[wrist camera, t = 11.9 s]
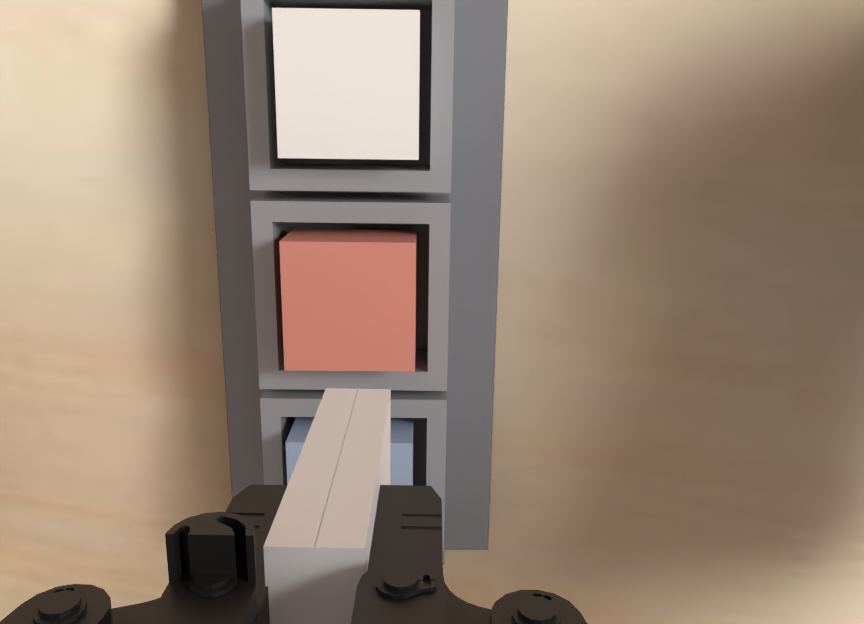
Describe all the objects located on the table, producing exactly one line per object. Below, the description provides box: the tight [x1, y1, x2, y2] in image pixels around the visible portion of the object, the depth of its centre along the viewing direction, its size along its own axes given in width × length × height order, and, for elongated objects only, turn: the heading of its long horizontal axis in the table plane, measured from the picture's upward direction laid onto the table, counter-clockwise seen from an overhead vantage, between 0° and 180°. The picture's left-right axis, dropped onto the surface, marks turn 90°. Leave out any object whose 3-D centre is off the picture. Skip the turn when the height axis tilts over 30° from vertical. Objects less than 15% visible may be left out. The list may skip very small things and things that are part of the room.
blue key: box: [286, 417, 414, 485], centre depth 32 cm, size 5×5×3 cm
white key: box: [272, 8, 420, 160], centre depth 28 cm, size 5×5×3 cm
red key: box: [279, 229, 417, 372], centre depth 30 cm, size 5×5×3 cm
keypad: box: [202, 0, 508, 564], centre depth 32 cm, size 26×12×4 cm, turn 179°
